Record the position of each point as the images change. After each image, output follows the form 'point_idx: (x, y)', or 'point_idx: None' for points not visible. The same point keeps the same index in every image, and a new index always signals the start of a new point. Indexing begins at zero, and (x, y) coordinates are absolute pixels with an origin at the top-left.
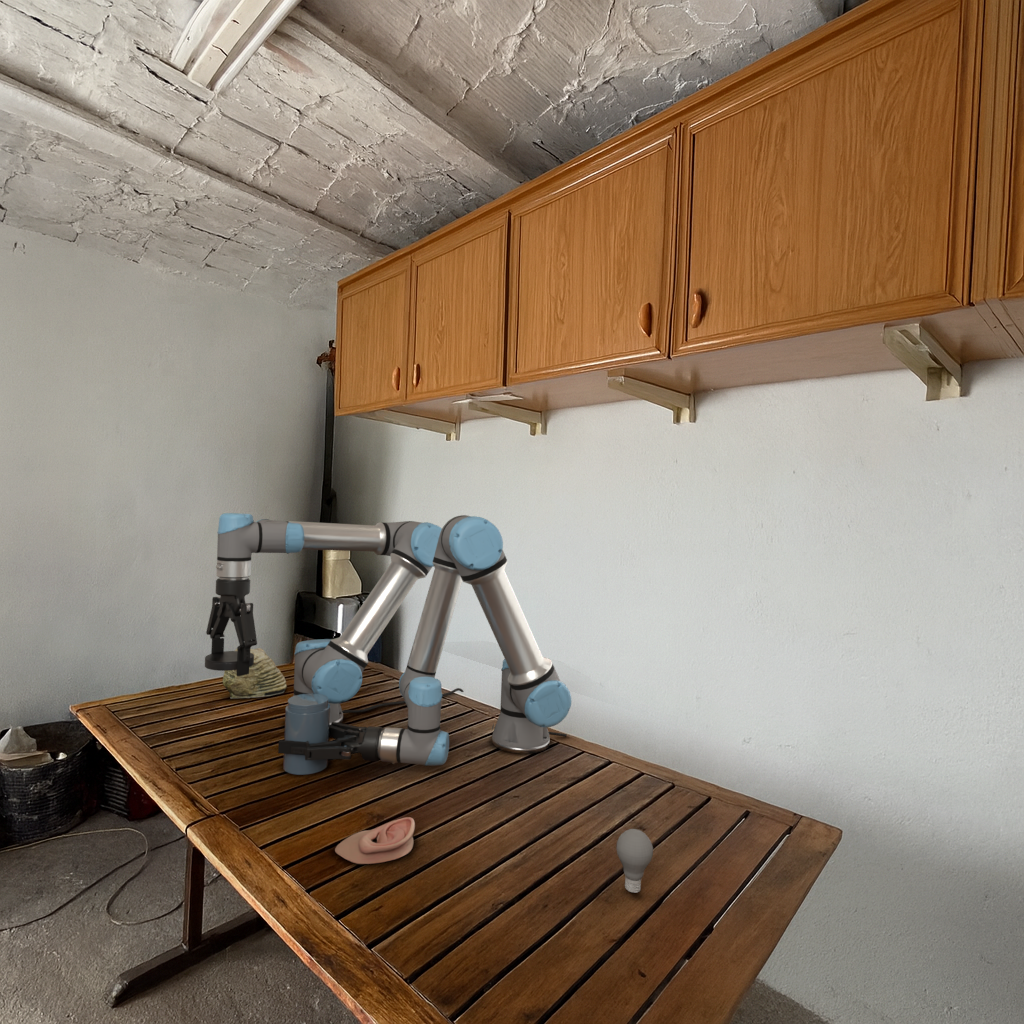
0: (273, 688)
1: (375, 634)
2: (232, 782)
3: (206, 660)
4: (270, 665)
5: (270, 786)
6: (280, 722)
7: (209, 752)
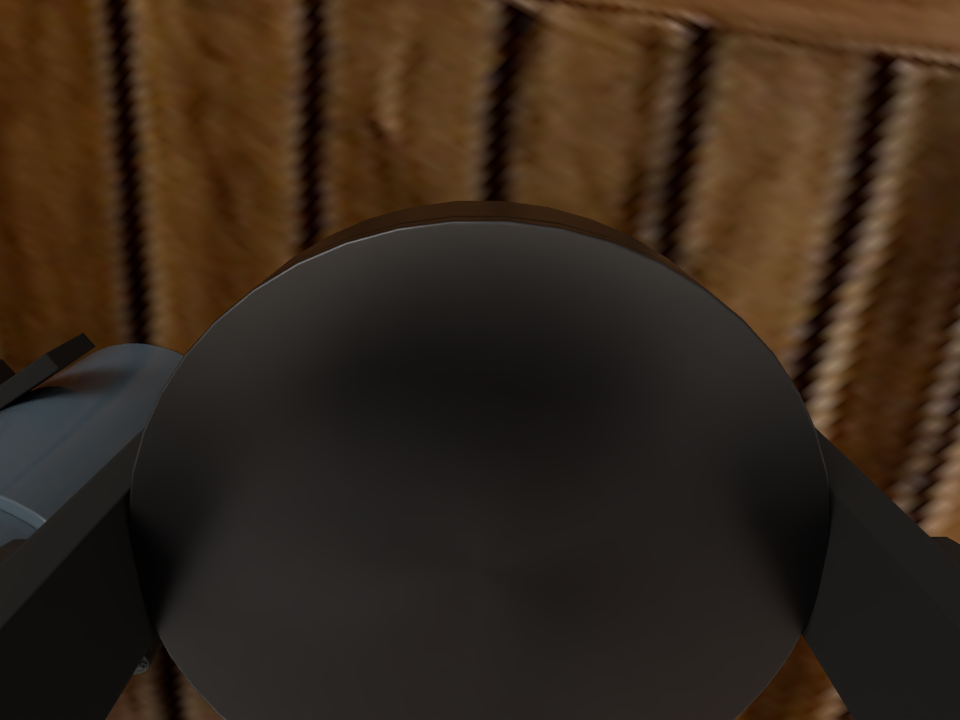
0: None
1: None
2: (189, 123)
3: (537, 221)
4: None
5: (42, 217)
6: None
7: None
